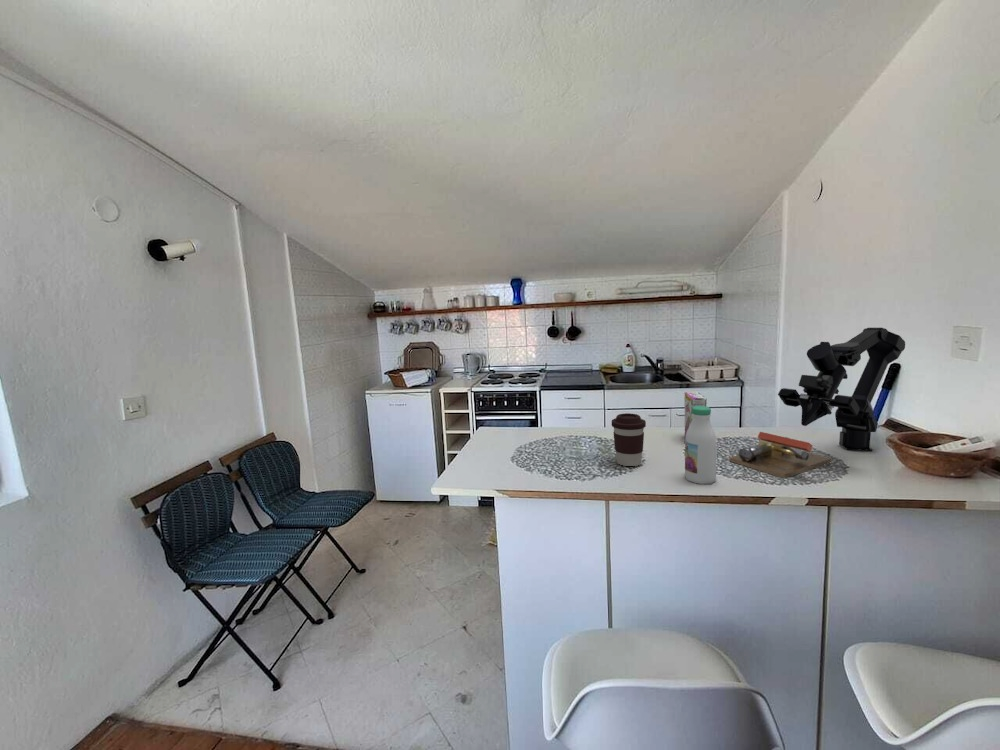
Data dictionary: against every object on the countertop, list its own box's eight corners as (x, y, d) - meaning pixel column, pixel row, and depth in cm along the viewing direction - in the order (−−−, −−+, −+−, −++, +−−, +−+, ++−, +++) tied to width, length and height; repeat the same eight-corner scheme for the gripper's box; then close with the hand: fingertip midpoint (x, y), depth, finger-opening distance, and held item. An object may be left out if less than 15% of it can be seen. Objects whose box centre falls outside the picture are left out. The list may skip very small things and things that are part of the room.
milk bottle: (713, 475, 117) (715, 404, 115) (718, 485, 110) (719, 411, 107) (683, 473, 120) (684, 404, 117) (686, 483, 113) (686, 410, 110)
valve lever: (781, 447, 127) (760, 431, 121) (831, 459, 115) (809, 442, 110) (779, 454, 126) (757, 437, 121) (828, 467, 115) (806, 449, 109)
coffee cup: (647, 459, 132) (647, 412, 130) (644, 470, 123) (643, 420, 121) (615, 456, 136) (614, 411, 134) (609, 467, 127) (608, 418, 125)
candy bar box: (683, 436, 154) (683, 392, 152) (698, 436, 153) (698, 391, 151) (690, 445, 143) (691, 398, 141) (706, 445, 142) (707, 398, 140)
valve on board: (774, 448, 136) (775, 432, 135) (831, 462, 122) (832, 445, 121) (729, 461, 127) (729, 444, 126) (784, 478, 112) (785, 459, 112)
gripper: (782, 361, 127) (758, 402, 124) (856, 366, 110) (830, 414, 107) (797, 384, 132) (774, 424, 129) (870, 392, 115) (845, 438, 112)
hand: (803, 424), depth 119 cm, fingers closed
